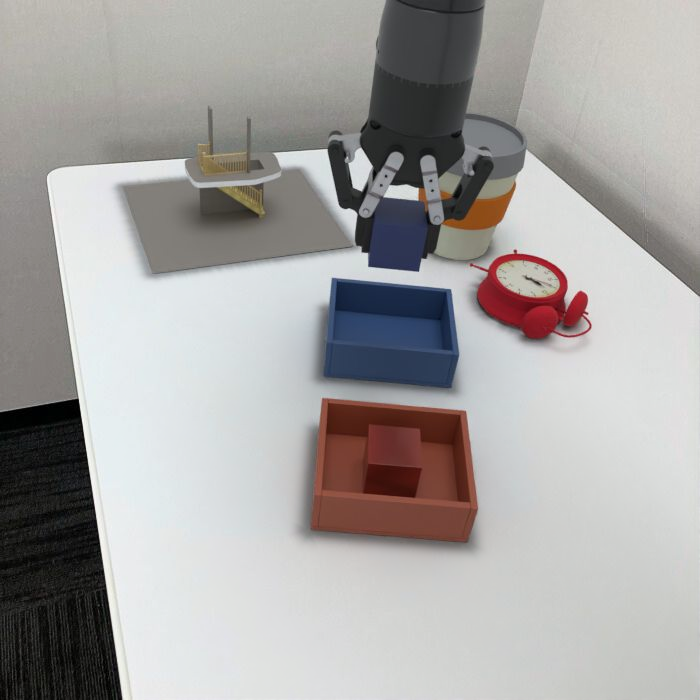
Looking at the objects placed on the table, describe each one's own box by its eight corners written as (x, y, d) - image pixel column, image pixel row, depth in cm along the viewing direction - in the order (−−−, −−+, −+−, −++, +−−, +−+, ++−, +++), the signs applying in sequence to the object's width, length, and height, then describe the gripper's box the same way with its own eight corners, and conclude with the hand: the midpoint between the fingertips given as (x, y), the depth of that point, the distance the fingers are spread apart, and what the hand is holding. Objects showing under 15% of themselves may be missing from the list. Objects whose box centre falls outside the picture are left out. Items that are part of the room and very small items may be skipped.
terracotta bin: (457, 444, 73) (466, 410, 70) (467, 542, 65) (478, 508, 62) (318, 431, 73) (322, 397, 70) (310, 529, 64) (314, 494, 61)
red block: (412, 462, 70) (420, 428, 67) (414, 502, 67) (422, 467, 64) (363, 458, 70) (368, 424, 67) (362, 497, 67) (368, 463, 64)
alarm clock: (522, 240, 96) (621, 280, 85) (518, 286, 99) (613, 330, 88) (458, 260, 91) (554, 306, 80) (456, 308, 94) (548, 358, 83)
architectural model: (352, 246, 98) (364, 142, 89) (153, 273, 89) (143, 161, 80) (299, 168, 112) (304, 72, 103) (122, 186, 104) (112, 83, 95)
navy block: (416, 244, 71) (424, 201, 68) (419, 272, 68) (427, 228, 65) (368, 239, 71) (374, 195, 68) (368, 267, 67) (374, 222, 64)
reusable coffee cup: (401, 258, 97) (419, 147, 87) (411, 209, 106) (428, 104, 97) (501, 275, 96) (530, 165, 86) (501, 224, 106) (528, 120, 96)
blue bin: (444, 320, 88) (451, 288, 85) (451, 388, 79) (459, 354, 76) (328, 309, 87) (331, 277, 84) (323, 376, 79) (326, 342, 76)
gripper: (328, 68, 55) (311, 267, 66) (527, 90, 55) (477, 283, 67) (332, 32, 60) (316, 221, 71) (512, 52, 61) (468, 236, 72)
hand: (394, 250), depth 69 cm, fingers closed on navy block, 4 cm apart
